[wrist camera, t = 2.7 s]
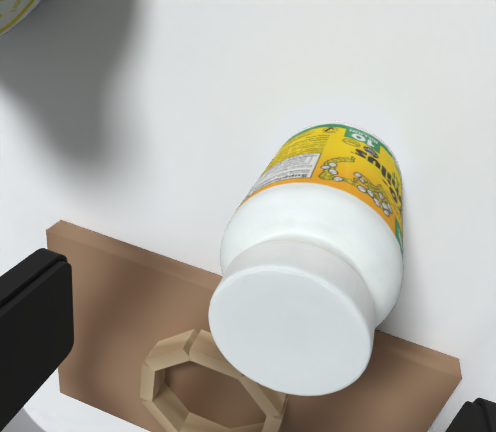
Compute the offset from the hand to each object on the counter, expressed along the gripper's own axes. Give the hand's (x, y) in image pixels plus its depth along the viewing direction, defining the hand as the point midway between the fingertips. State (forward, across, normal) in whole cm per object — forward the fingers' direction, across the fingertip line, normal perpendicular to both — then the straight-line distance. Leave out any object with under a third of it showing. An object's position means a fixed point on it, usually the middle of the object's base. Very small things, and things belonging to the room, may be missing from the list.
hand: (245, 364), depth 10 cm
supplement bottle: (+10, -1, -1) cm, 11 cm away
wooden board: (+11, +2, +13) cm, 17 cm away
